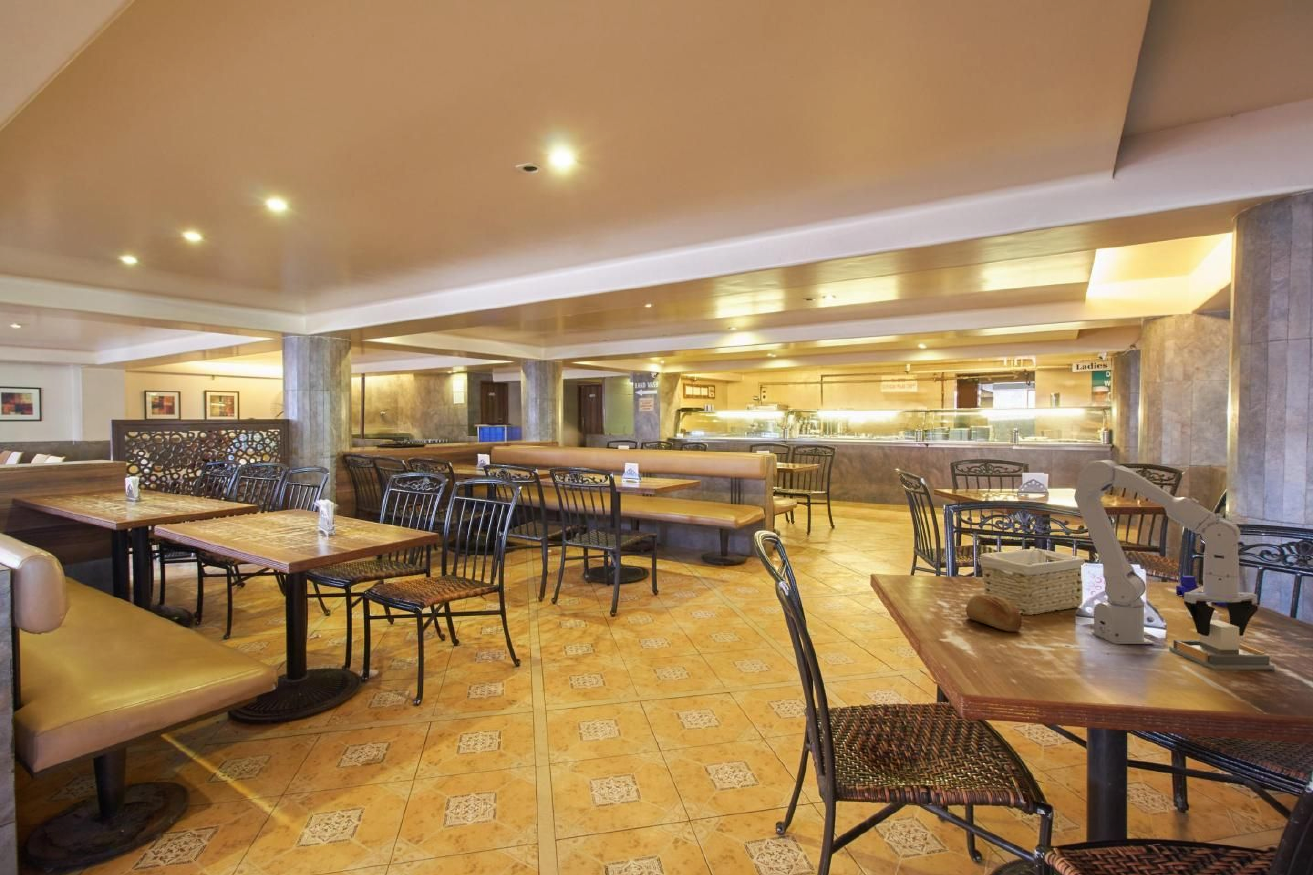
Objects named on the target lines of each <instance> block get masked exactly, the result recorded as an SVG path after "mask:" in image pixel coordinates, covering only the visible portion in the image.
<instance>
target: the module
mask: <svg viewBox="0 0 1313 875" xmlns="http://www.w3.org/2000/svg"><path fill="white" fill-rule="evenodd" d="M1199 640H1200V646H1201V647H1204V648H1206V649H1209V650H1211V651H1214V652H1216V653H1219V654H1239V643H1240V636H1239V627H1237V626H1234V625H1231V624H1230V622H1229V623H1228V622H1225V621H1223V620H1220V619H1219V620H1211V621H1210V632H1209V636H1204V635H1201V634H1199Z"/></svg>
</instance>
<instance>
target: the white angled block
mask: <svg viewBox="0 0 1313 875" xmlns="http://www.w3.org/2000/svg"><path fill="white" fill-rule="evenodd" d="M1202 590H1203V585H1202V586H1200V587H1199V586H1198V588H1197V589H1195V590H1192V591H1190V592H1196V591H1202ZM1206 604H1208V606H1210V607H1212V604H1211V602H1206ZM1188 616H1189V618H1190V617H1191V618H1190V619H1192V615H1191V613H1190V612H1189V610H1187V617H1188ZM1211 620H1220V612H1219V611H1216V610H1214V612H1213V614H1212V617H1211Z"/></svg>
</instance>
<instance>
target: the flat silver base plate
mask: <svg viewBox="0 0 1313 875" xmlns="http://www.w3.org/2000/svg"><path fill="white" fill-rule="evenodd" d="M1190 646H1192V647H1195V648H1197V649H1199V650H1202V651H1204V652H1207V653H1208V660H1209V655H1255V654H1253V653H1250V652H1248V651H1245V650H1242V649H1240V648H1239V654H1219V653H1216V652H1214V651H1211V650H1209V649H1206V648H1204V647H1201V646H1200V645H1190Z"/></svg>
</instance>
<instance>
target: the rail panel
mask: <svg viewBox="0 0 1313 875" xmlns="http://www.w3.org/2000/svg"><path fill="white" fill-rule="evenodd" d="M1190 645H1200V639H1173V646H1169V651H1170V652H1173V653H1175V654H1178V655H1179V656H1181V657H1185V658H1186V659H1189V660H1191V661H1193V662H1195V663H1198V664H1200V665H1202V666H1205V667H1207V668H1209V669H1212V670H1275V665H1273V664H1271V662H1270V661H1271V660H1270V657H1271V656H1270V655H1266V653H1265V652H1264V651H1261V650H1258V649H1255V648H1253V647H1250V646H1247V645H1245V644H1242V643H1240V642H1239V648H1240V649H1242V650H1245V651H1248V652H1250V653H1253V654H1255V655H1209V660H1208V653H1207V652H1204V651H1202V650H1199V649H1197V648H1195V647H1192V646H1190Z"/></svg>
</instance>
